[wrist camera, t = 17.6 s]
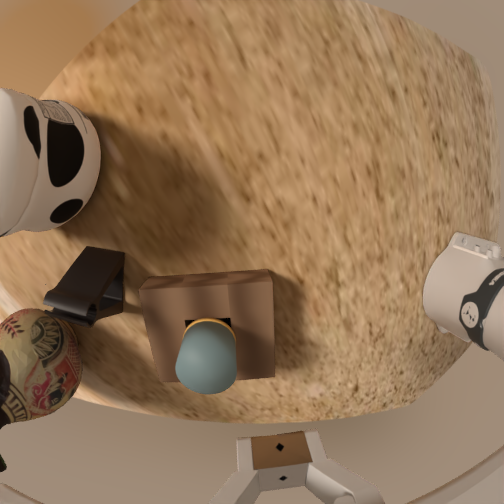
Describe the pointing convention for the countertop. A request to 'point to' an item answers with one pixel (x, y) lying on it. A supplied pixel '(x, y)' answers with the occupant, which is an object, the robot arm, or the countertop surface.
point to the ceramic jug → (36, 366)
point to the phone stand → (89, 288)
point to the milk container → (44, 162)
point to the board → (211, 306)
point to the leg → (207, 356)
